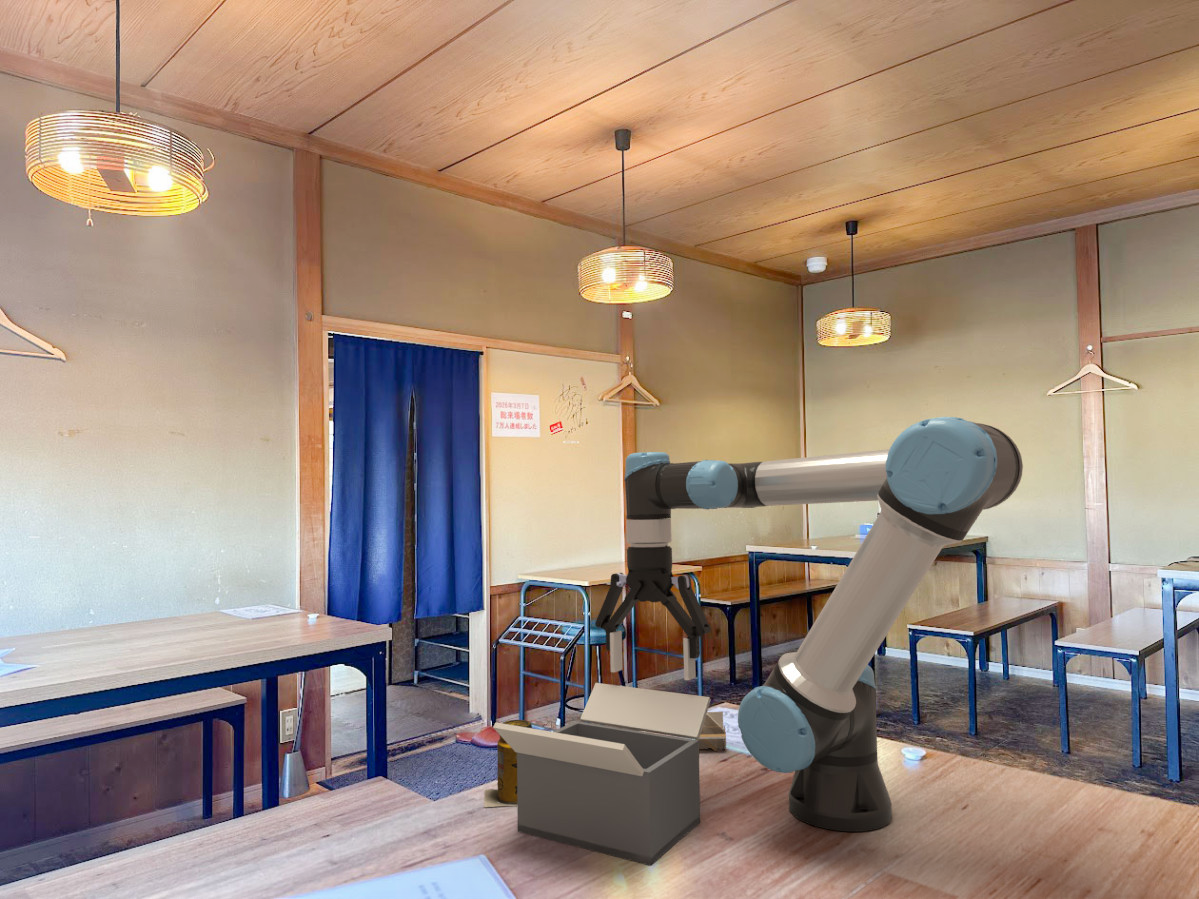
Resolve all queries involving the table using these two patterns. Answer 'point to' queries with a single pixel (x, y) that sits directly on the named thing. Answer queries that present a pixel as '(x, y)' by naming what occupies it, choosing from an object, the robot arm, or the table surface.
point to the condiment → (505, 772)
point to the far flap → (647, 710)
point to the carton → (613, 796)
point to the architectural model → (713, 732)
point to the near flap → (570, 748)
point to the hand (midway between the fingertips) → (652, 674)
